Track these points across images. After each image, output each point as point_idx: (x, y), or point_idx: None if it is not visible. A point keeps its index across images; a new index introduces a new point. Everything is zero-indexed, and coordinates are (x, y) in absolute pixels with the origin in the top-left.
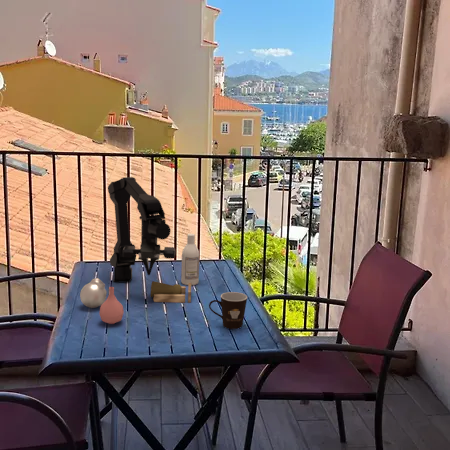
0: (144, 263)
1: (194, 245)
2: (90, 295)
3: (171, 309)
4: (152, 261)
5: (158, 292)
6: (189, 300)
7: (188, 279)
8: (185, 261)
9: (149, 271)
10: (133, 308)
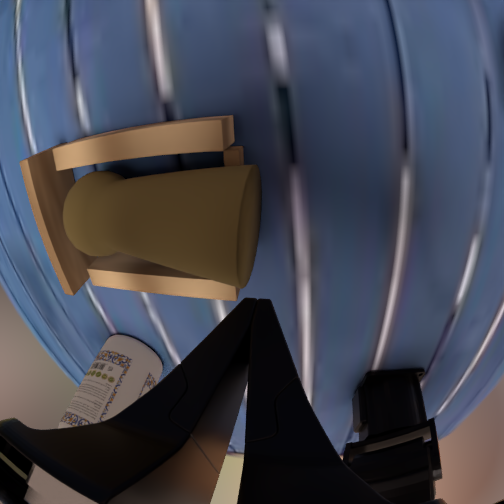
0: (306, 431)
1: None
2: None
3: (121, 26)
4: (128, 441)
5: (193, 171)
6: (55, 146)
7: (118, 353)
8: (101, 421)
9: (240, 323)
10: (354, 5)
